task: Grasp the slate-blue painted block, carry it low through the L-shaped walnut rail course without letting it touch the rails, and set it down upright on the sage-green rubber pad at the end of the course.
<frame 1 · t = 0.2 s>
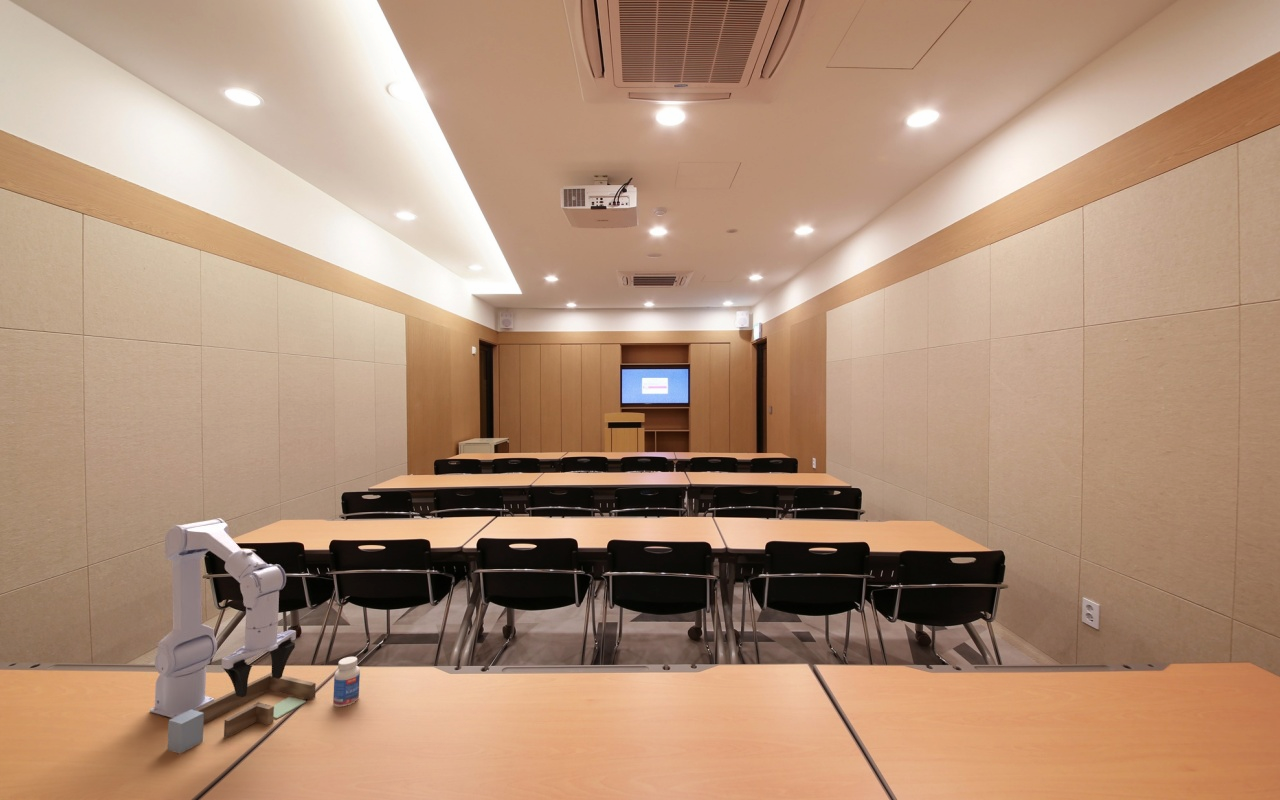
hand: (259, 686, 108), 10 cm above the table, fingers open, 7 cm apart
pill bottle: (346, 701, 120), on the table
course: (232, 720, 112), on the table
block: (185, 745, 104), on the table
pad: (283, 708, 117), on the table
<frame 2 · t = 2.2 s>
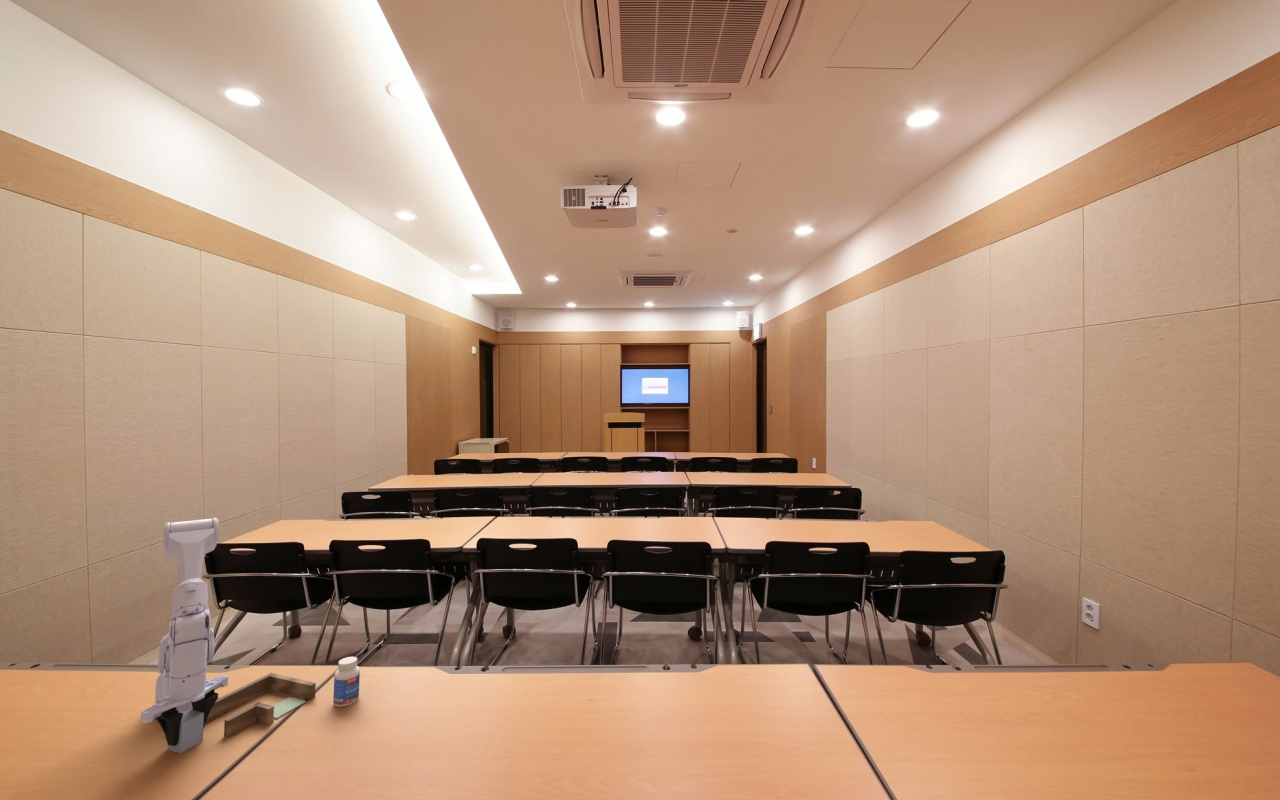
hand: (185, 737, 104), 2 cm above the table, fingers closed on block, 4 cm apart
block: (185, 745, 104), on the table, touching gripper
everything else where it was.
when the fingers open (3 cm above the table, at t = 8.5 s): block stays where it is, resting on pad.
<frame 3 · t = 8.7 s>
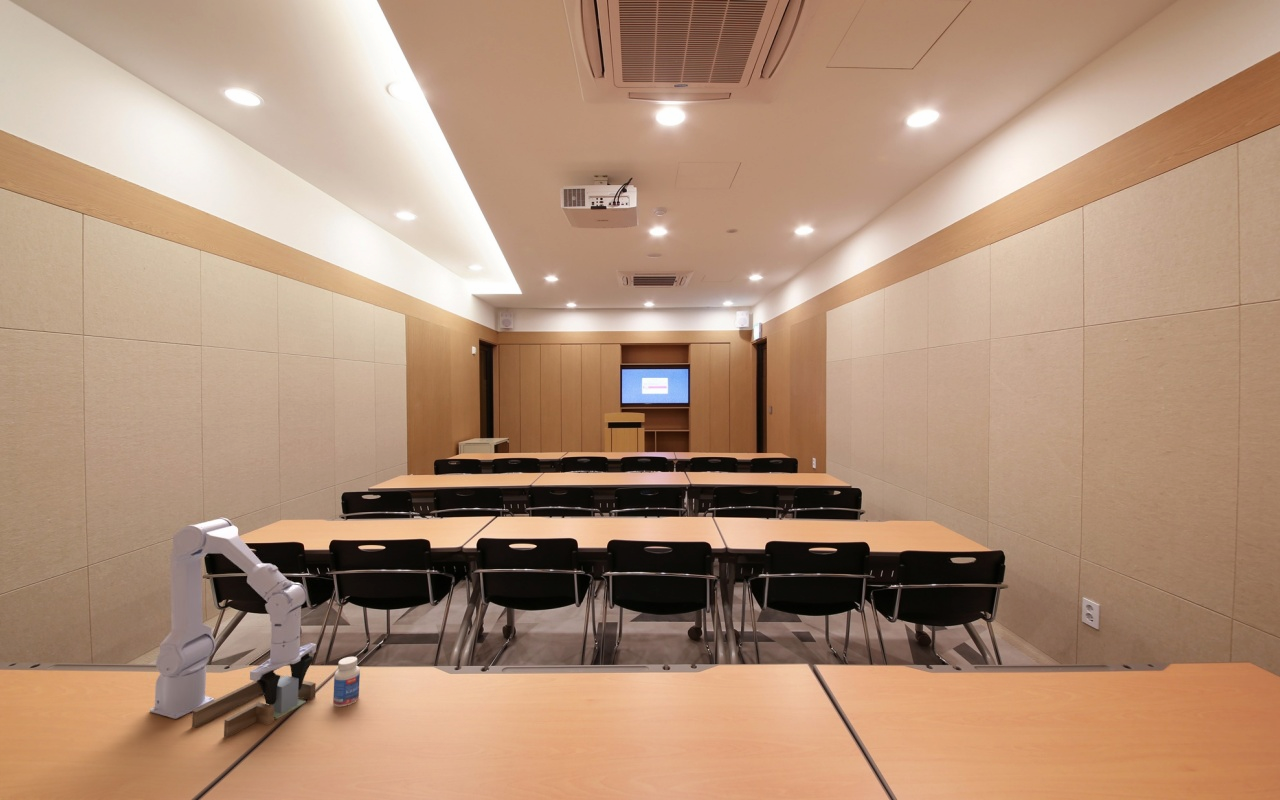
hand: (283, 696, 117), 3 cm above the table, fingers open, 6 cm apart
block: (283, 707, 117), resting on pad
everything else where it was.
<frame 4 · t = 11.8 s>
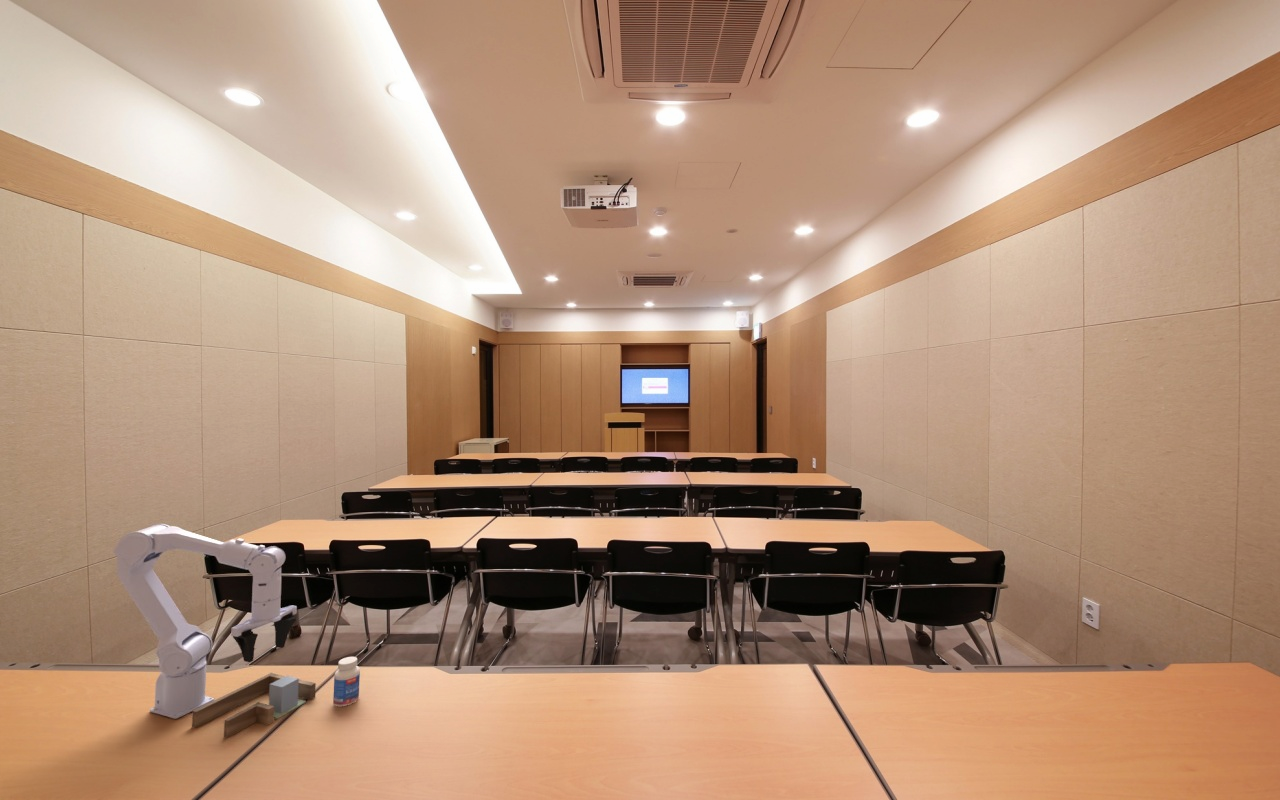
hand: (264, 653, 122), 10 cm above the table, fingers open, 7 cm apart
nothing on the table moved.
at the end: block inside the target area on the pad (0.0 cm from its centre), point 0.3 cm above the pad's base; block tilted 0°; block touching pad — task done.
